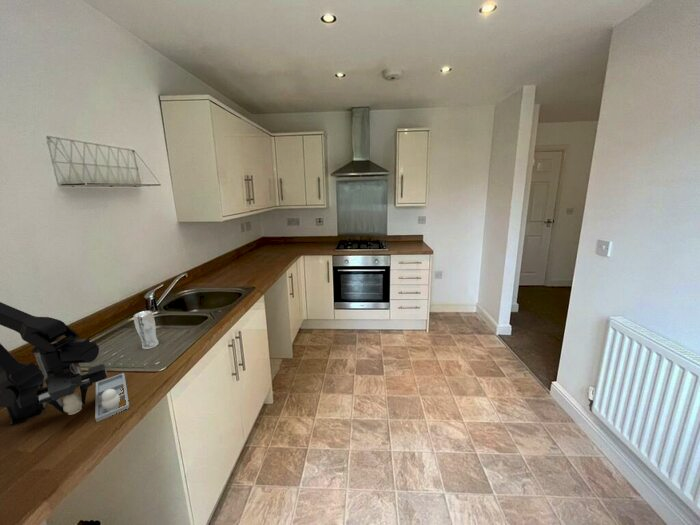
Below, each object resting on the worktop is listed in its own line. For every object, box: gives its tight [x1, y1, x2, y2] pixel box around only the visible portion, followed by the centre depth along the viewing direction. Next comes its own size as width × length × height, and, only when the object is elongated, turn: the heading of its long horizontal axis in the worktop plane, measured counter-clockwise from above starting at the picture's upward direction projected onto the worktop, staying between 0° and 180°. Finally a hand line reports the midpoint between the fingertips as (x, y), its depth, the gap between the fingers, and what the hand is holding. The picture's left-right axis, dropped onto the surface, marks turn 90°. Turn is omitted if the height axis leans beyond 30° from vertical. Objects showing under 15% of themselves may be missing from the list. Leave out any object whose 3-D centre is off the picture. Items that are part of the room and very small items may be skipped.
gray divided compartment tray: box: [94, 372, 130, 423], centre depth 94 cm, size 8×22×2 cm, turn 40°
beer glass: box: [133, 310, 160, 350], centre depth 124 cm, size 7×7×15 cm
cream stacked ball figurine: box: [61, 391, 83, 416], centre depth 88 cm, size 4×4×6 cm
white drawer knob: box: [101, 389, 120, 412], centre depth 88 cm, size 4×4×6 cm
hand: (74, 408), depth 88 cm, fingers closed on cream stacked ball figurine, 4 cm apart
